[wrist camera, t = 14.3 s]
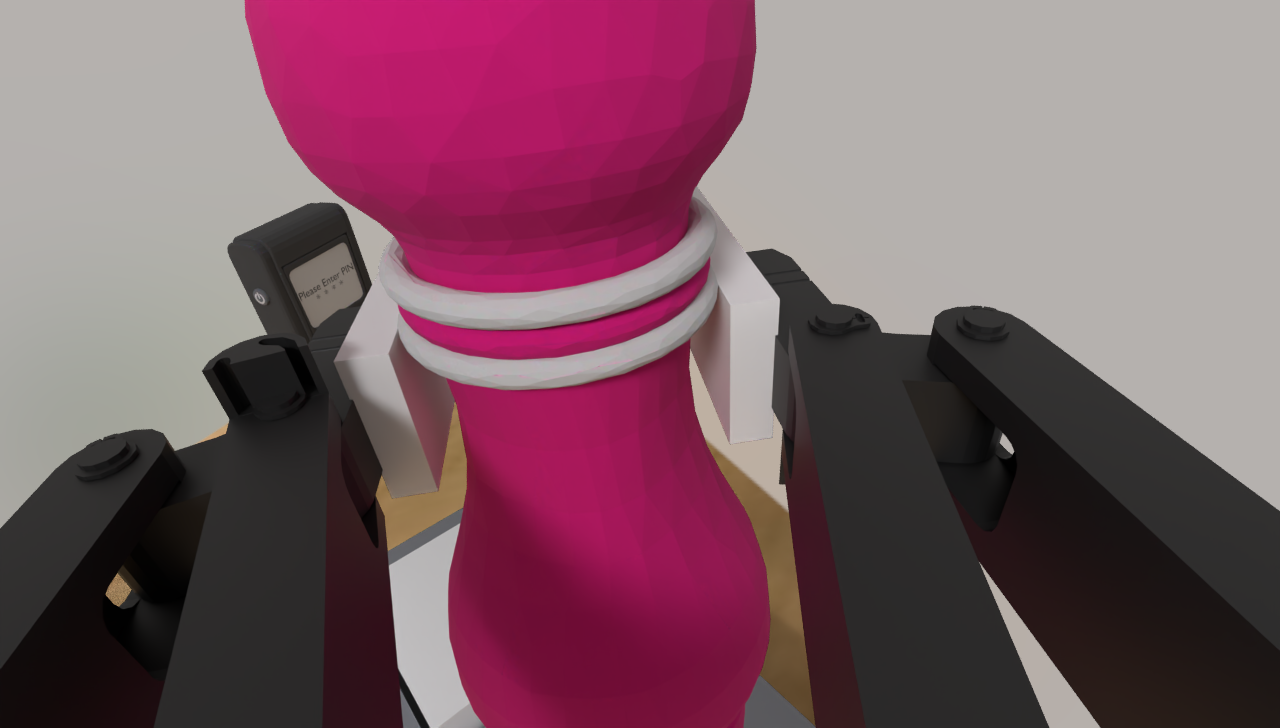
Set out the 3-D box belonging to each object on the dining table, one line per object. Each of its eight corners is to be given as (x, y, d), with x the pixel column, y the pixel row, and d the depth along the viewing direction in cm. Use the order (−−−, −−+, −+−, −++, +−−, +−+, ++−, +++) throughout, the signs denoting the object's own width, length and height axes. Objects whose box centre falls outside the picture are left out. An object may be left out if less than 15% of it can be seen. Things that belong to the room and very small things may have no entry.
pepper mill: (799, 642, 18) (924, -442, 7) (692, 939, 12) (424, -1721, 1) (590, 554, 21) (435, -273, 10) (436, 760, 16) (-254, -479, 5)
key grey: (451, 767, 25) (432, 731, 24) (374, 623, 31) (354, 586, 30) (621, 630, 30) (614, 591, 28) (525, 527, 36) (515, 490, 34)
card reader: (332, 413, 51) (256, 245, 43) (296, 406, 52) (214, 242, 44) (402, 354, 58) (348, 200, 50) (368, 350, 59) (310, 198, 51)
